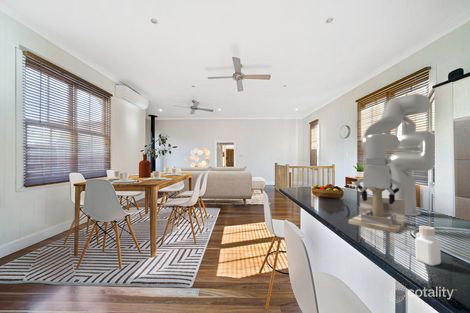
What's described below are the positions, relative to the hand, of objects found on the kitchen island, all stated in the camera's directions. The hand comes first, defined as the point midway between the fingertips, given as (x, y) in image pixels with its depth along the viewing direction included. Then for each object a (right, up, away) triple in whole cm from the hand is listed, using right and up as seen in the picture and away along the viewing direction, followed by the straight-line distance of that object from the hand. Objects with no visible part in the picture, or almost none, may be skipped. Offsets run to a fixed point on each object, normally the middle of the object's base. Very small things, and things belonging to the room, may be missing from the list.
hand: (377, 202), depth 90 cm
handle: (0, -8, 0) cm, 9 cm away
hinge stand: (0, -10, +1) cm, 10 cm away
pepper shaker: (-9, -9, -33) cm, 35 cm away
